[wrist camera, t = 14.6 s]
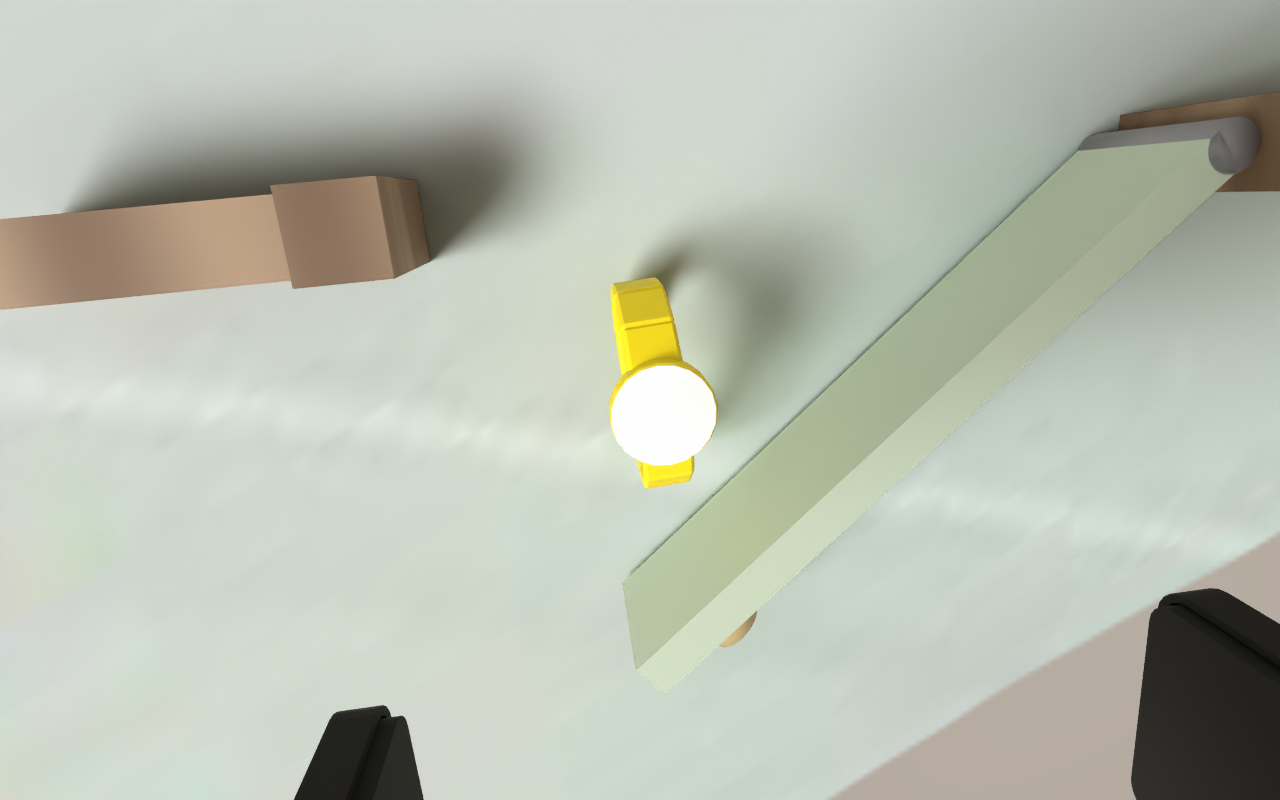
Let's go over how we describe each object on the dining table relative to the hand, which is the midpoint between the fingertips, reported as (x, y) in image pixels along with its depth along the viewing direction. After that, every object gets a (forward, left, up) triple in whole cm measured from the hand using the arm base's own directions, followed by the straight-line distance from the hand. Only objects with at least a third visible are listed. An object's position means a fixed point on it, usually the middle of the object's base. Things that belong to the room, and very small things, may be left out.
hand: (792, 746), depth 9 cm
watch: (0, -1, -16) cm, 16 cm away
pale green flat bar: (-8, 0, -16) cm, 17 cm away
